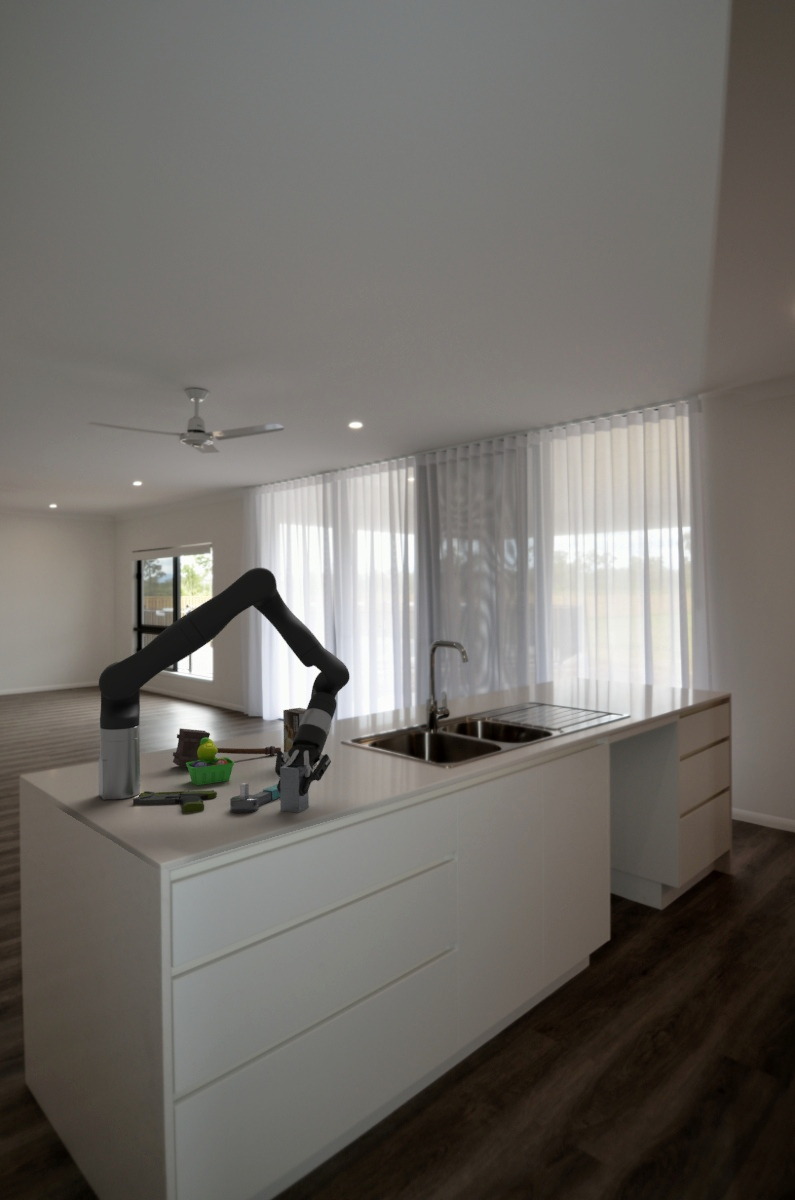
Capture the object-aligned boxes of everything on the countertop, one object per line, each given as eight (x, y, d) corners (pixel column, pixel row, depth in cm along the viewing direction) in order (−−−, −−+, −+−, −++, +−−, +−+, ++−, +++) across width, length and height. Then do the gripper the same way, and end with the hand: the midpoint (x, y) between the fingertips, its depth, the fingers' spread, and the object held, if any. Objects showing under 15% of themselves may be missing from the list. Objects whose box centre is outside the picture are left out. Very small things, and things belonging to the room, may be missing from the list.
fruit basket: (192, 787, 179) (192, 744, 179) (184, 779, 187) (184, 738, 187) (235, 781, 185) (235, 739, 185) (225, 774, 192) (225, 734, 192)
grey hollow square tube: (280, 810, 159) (280, 767, 159) (290, 804, 163) (289, 762, 163) (299, 812, 157) (298, 769, 157) (308, 806, 162) (308, 764, 162)
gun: (121, 817, 157) (141, 800, 172) (205, 814, 158) (218, 796, 173) (120, 806, 157) (141, 789, 172) (205, 803, 158) (218, 786, 173)
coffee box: (318, 765, 202) (317, 710, 202) (299, 768, 198) (299, 713, 198) (300, 759, 209) (300, 707, 209) (282, 763, 205) (282, 709, 205)
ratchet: (246, 815, 156) (246, 788, 156) (224, 811, 159) (224, 785, 159) (295, 794, 172) (295, 770, 172) (274, 790, 175) (274, 767, 175)
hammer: (170, 761, 202) (177, 727, 203) (272, 768, 219) (278, 737, 220) (176, 766, 196) (183, 731, 197) (281, 772, 213) (286, 740, 215)
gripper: (282, 721, 169) (257, 782, 158) (335, 724, 165) (313, 787, 153) (292, 738, 175) (269, 799, 163) (344, 741, 170) (323, 804, 159)
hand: (290, 793), depth 158 cm, fingers closed on grey hollow square tube, 4 cm apart
